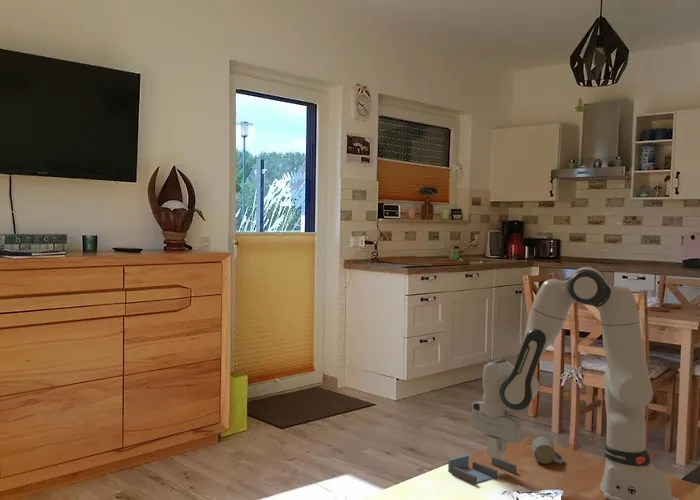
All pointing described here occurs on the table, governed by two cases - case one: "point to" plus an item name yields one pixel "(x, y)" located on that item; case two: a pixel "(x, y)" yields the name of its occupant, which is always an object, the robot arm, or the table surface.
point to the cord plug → (494, 447)
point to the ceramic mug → (545, 451)
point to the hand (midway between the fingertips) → (496, 448)
